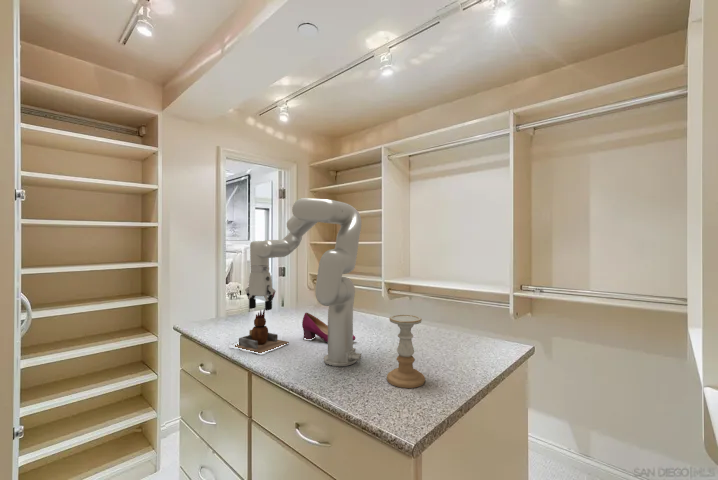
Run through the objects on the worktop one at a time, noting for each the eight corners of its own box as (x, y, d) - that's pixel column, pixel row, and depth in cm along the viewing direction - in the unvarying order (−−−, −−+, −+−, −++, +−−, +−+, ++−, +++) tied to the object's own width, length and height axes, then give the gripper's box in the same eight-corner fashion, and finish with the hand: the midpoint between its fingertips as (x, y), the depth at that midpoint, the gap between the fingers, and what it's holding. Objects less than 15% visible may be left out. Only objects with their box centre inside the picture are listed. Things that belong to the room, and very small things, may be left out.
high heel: (353, 346, 140) (353, 317, 140) (297, 342, 146) (297, 315, 146) (357, 340, 148) (357, 313, 149) (305, 337, 154) (305, 311, 154)
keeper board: (288, 344, 142) (288, 330, 142) (260, 355, 128) (260, 339, 128) (258, 338, 152) (258, 325, 152) (229, 347, 138) (229, 333, 138)
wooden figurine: (270, 341, 142) (270, 307, 143) (264, 345, 137) (264, 310, 137) (255, 341, 143) (255, 307, 143) (249, 345, 137) (249, 309, 138)
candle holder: (378, 380, 105) (378, 317, 105) (402, 369, 114) (402, 312, 114) (409, 392, 96) (409, 324, 96) (432, 380, 105) (432, 317, 105)
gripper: (280, 269, 139) (281, 309, 139) (252, 268, 148) (253, 306, 148) (267, 270, 133) (268, 312, 132) (239, 269, 141) (239, 309, 141)
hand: (260, 309), depth 140 cm, fingers open, 9 cm apart
